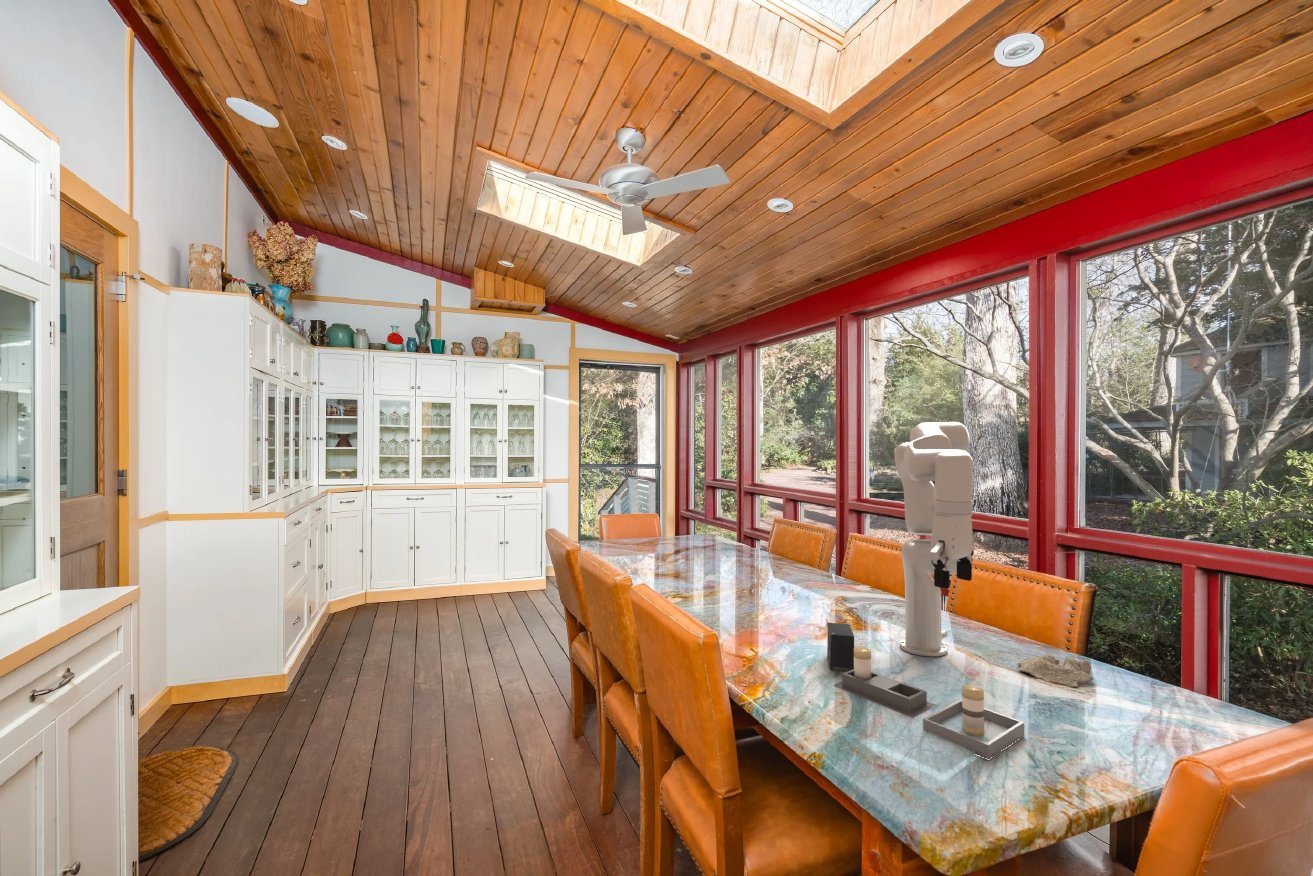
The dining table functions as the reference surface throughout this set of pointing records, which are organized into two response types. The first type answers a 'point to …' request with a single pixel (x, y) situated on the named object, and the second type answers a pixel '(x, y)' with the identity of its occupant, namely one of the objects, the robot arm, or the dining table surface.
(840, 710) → the dining table surface
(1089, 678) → the coral
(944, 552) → the robot arm
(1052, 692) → the dining table surface
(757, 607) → the dining table surface
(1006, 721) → the tray
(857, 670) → the cylinder
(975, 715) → the fuse
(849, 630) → the small box
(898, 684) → the fuse block
